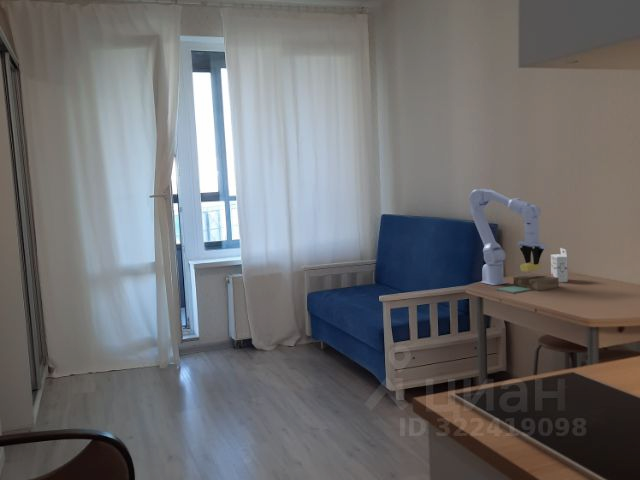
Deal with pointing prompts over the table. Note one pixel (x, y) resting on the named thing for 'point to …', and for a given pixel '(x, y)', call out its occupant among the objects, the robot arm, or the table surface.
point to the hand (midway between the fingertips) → (532, 263)
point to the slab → (530, 266)
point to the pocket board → (536, 282)
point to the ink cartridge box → (559, 266)
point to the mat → (513, 289)
